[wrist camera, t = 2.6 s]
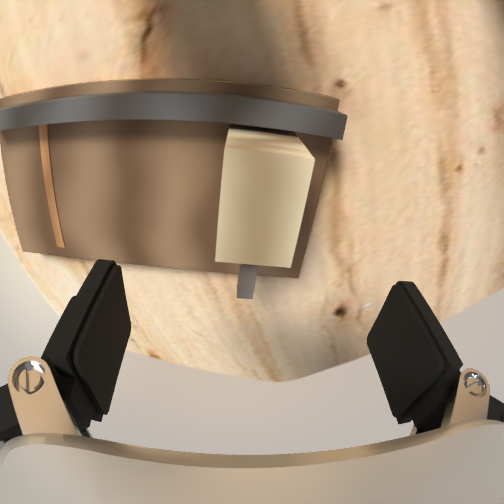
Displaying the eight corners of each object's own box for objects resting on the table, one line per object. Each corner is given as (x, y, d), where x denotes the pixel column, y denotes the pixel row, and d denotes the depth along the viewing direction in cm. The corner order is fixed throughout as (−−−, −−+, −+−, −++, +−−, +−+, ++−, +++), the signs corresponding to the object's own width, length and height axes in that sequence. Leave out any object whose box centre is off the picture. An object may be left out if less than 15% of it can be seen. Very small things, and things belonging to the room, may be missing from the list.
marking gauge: (294, 131, 18) (314, 159, 13) (270, 262, 23) (277, 319, 18) (230, 124, 18) (224, 148, 13) (217, 257, 23) (211, 315, 18)
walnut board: (331, 96, 18) (349, 103, 15) (294, 263, 26) (301, 294, 23) (12, 95, 16) (-19, 105, 13) (32, 239, 24) (12, 264, 20)
